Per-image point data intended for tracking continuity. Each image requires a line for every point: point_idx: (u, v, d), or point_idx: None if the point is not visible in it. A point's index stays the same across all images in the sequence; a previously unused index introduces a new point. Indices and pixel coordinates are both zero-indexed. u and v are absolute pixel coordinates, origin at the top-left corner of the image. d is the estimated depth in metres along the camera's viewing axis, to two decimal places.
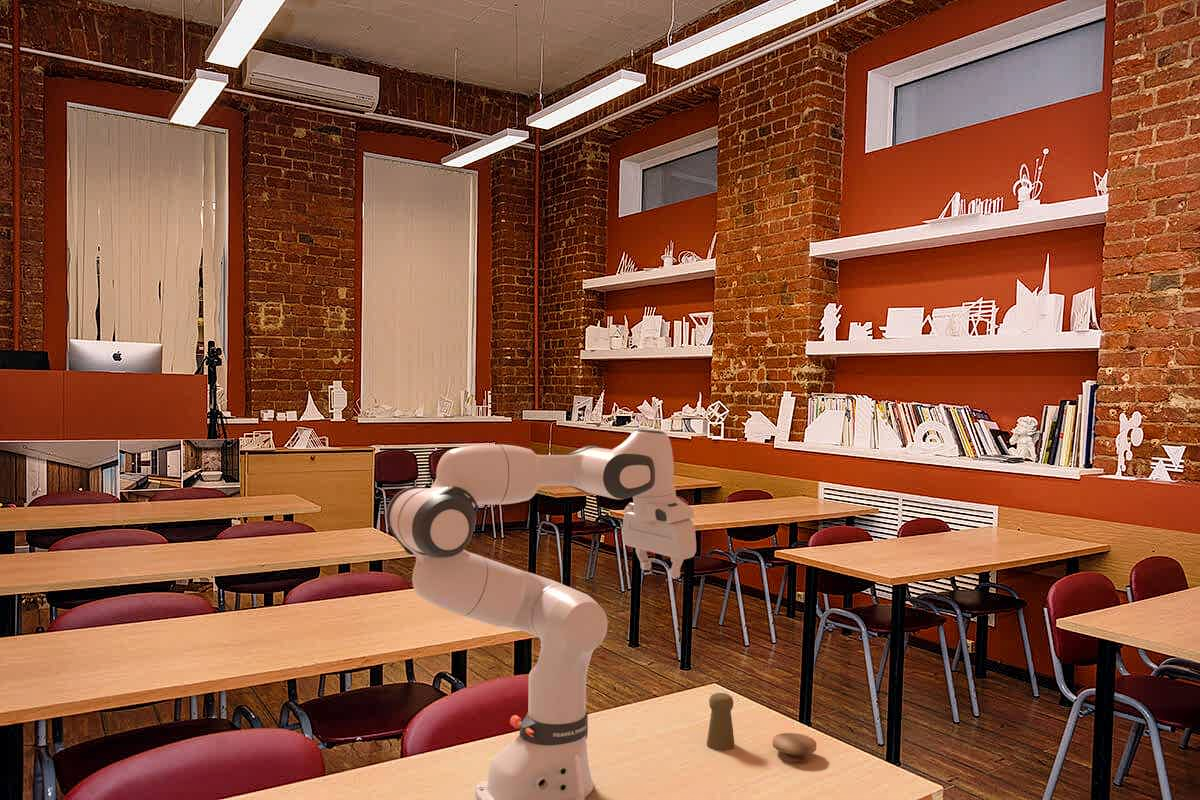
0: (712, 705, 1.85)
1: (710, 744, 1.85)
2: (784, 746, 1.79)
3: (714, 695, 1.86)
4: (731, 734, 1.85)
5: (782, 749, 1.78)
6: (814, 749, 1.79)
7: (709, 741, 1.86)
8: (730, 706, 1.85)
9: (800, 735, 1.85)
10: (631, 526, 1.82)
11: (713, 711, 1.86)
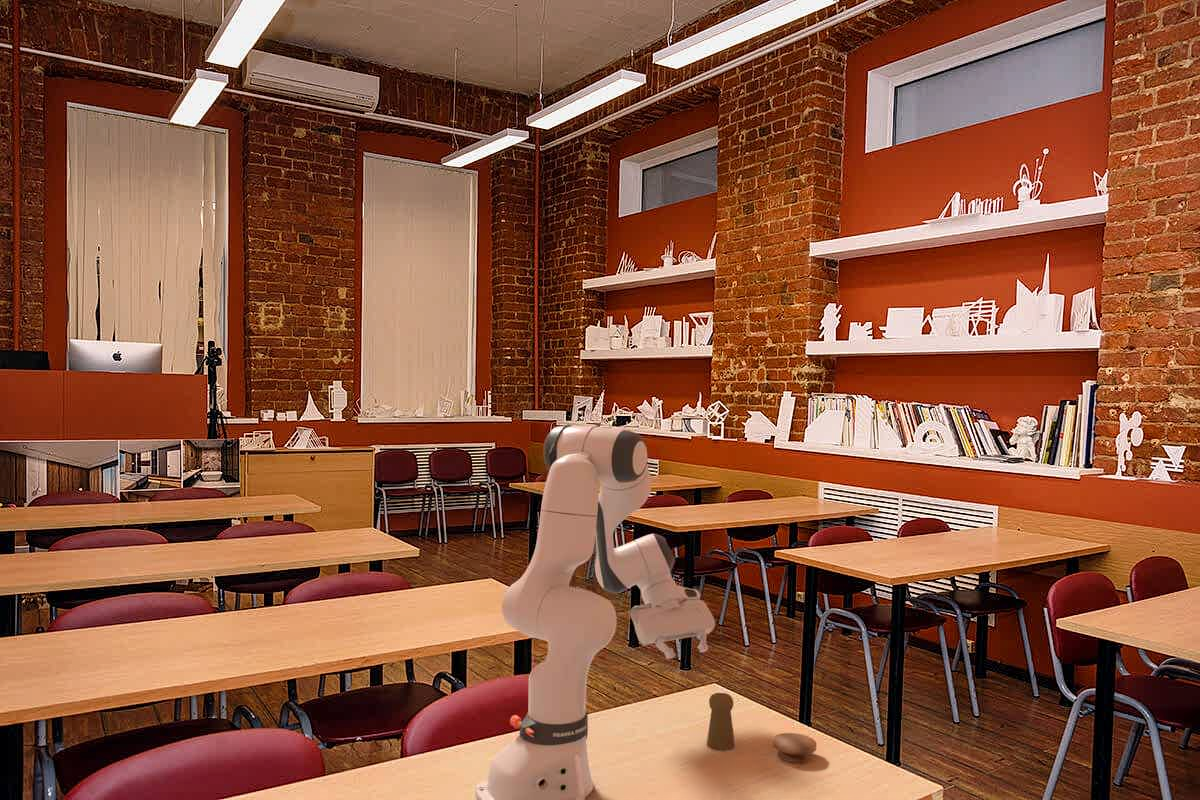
0: (712, 705, 1.85)
1: (710, 744, 1.85)
2: (784, 746, 1.79)
3: (714, 695, 1.86)
4: (731, 734, 1.85)
5: (782, 749, 1.78)
6: (814, 749, 1.79)
7: (709, 741, 1.86)
8: (730, 706, 1.85)
9: (800, 735, 1.85)
10: (651, 619, 1.98)
11: (713, 711, 1.86)
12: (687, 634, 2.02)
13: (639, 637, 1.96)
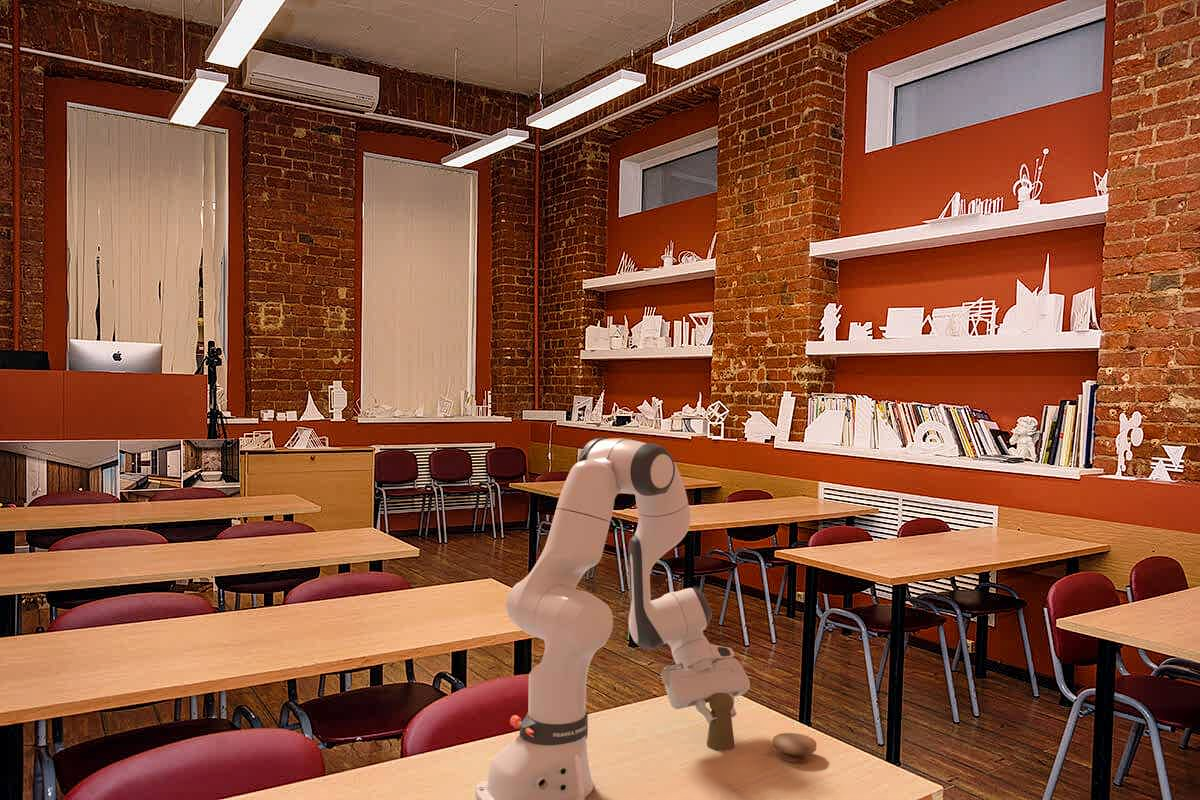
0: (712, 705, 1.85)
1: (710, 744, 1.85)
2: (784, 746, 1.79)
3: (714, 695, 1.86)
4: (731, 734, 1.85)
5: (782, 749, 1.78)
6: (814, 749, 1.79)
7: (708, 741, 1.86)
8: (730, 706, 1.85)
9: (800, 735, 1.85)
10: (683, 681, 1.87)
11: None
12: None
13: (671, 701, 1.85)
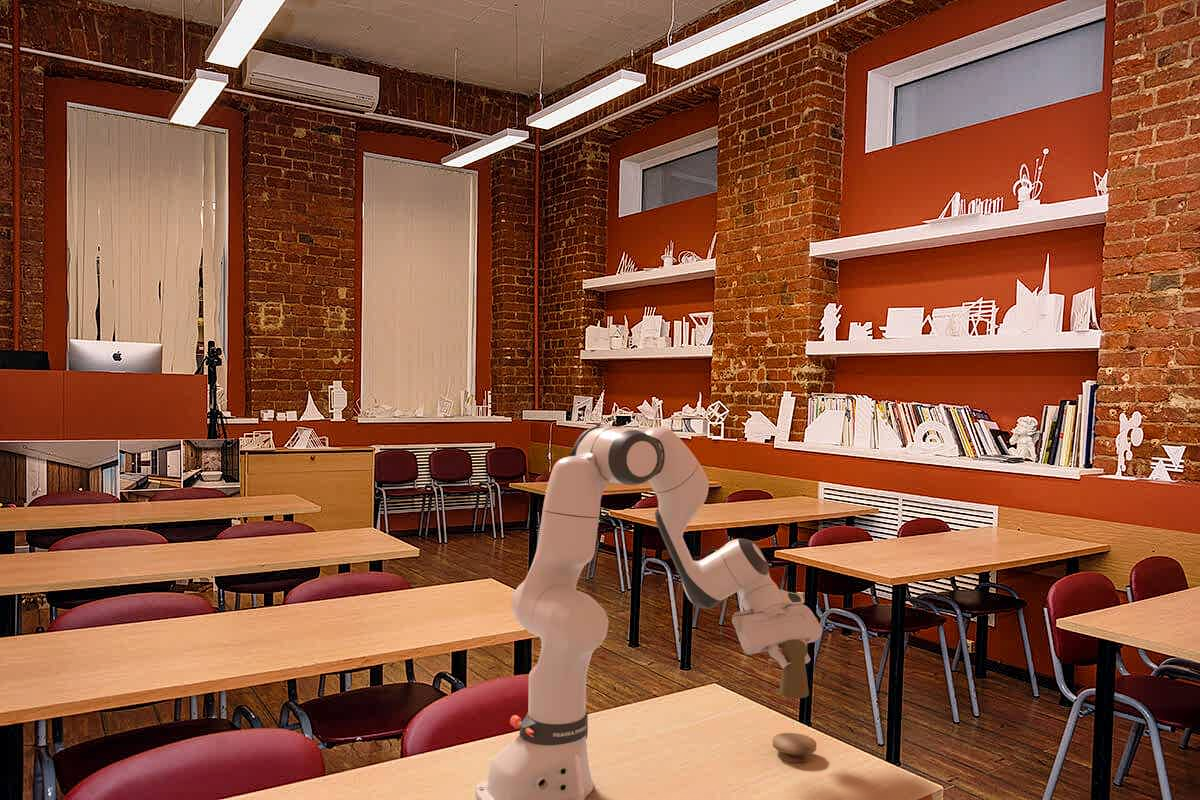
0: (786, 651, 1.80)
1: (784, 691, 1.80)
2: (784, 746, 1.79)
3: (787, 641, 1.81)
4: (805, 681, 1.80)
5: (782, 749, 1.78)
6: (814, 749, 1.79)
7: (782, 688, 1.80)
8: (804, 652, 1.79)
9: (800, 735, 1.85)
10: (755, 626, 1.82)
11: None
12: None
13: (744, 646, 1.80)
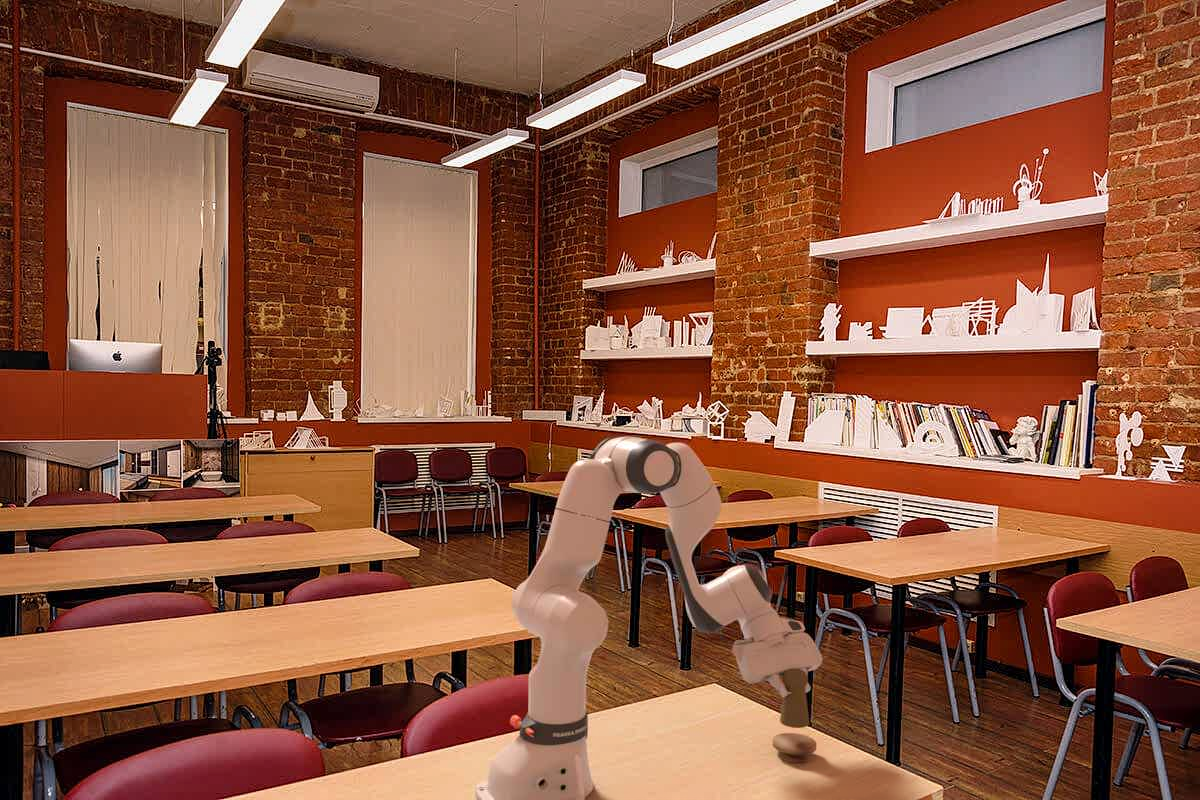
0: (786, 681, 1.80)
1: (784, 721, 1.80)
2: (784, 746, 1.79)
3: (788, 671, 1.81)
4: (806, 711, 1.80)
5: (782, 749, 1.78)
6: (814, 749, 1.79)
7: (782, 718, 1.80)
8: (805, 682, 1.79)
9: (800, 735, 1.85)
10: (756, 655, 1.82)
11: None
12: None
13: (744, 675, 1.80)
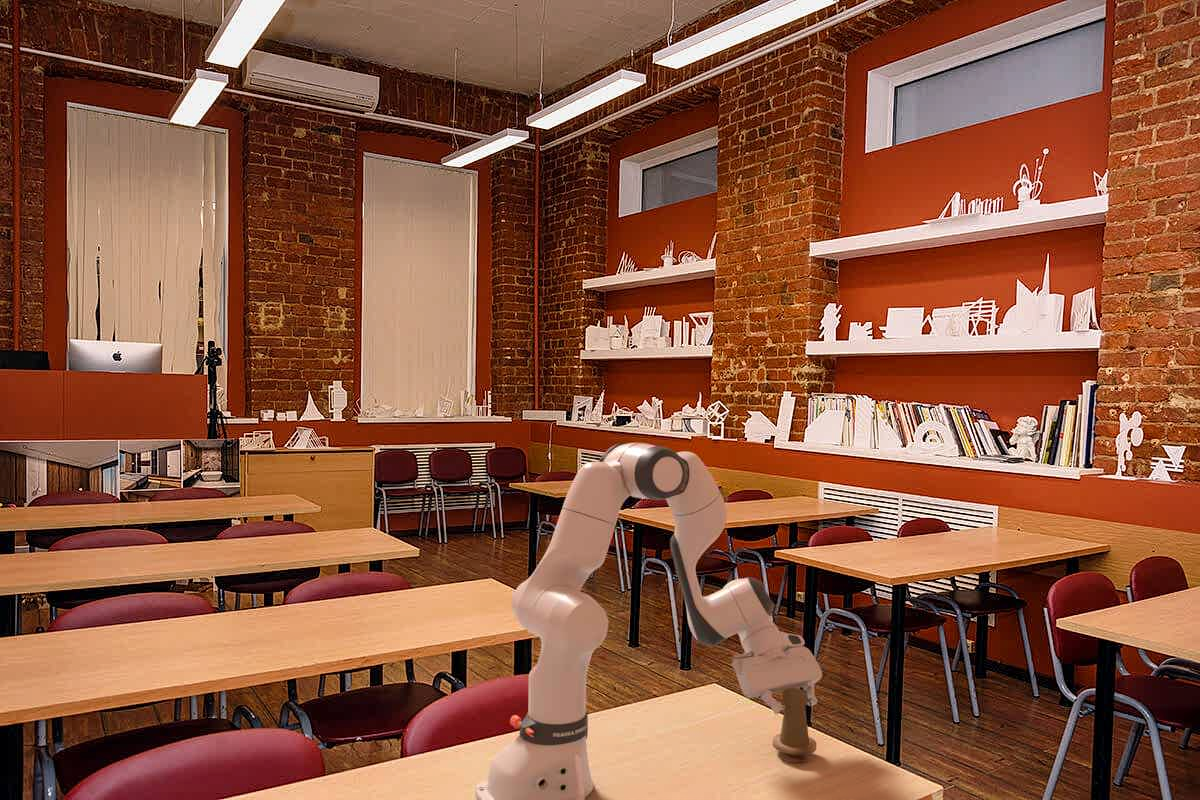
0: (786, 700, 1.79)
1: (784, 741, 1.80)
2: (784, 746, 1.79)
3: (788, 690, 1.81)
4: (806, 730, 1.79)
5: (782, 749, 1.78)
6: (814, 749, 1.79)
7: (782, 737, 1.80)
8: (805, 702, 1.79)
9: None
10: (755, 670, 1.82)
11: (787, 707, 1.80)
12: (793, 685, 1.86)
13: (744, 690, 1.80)
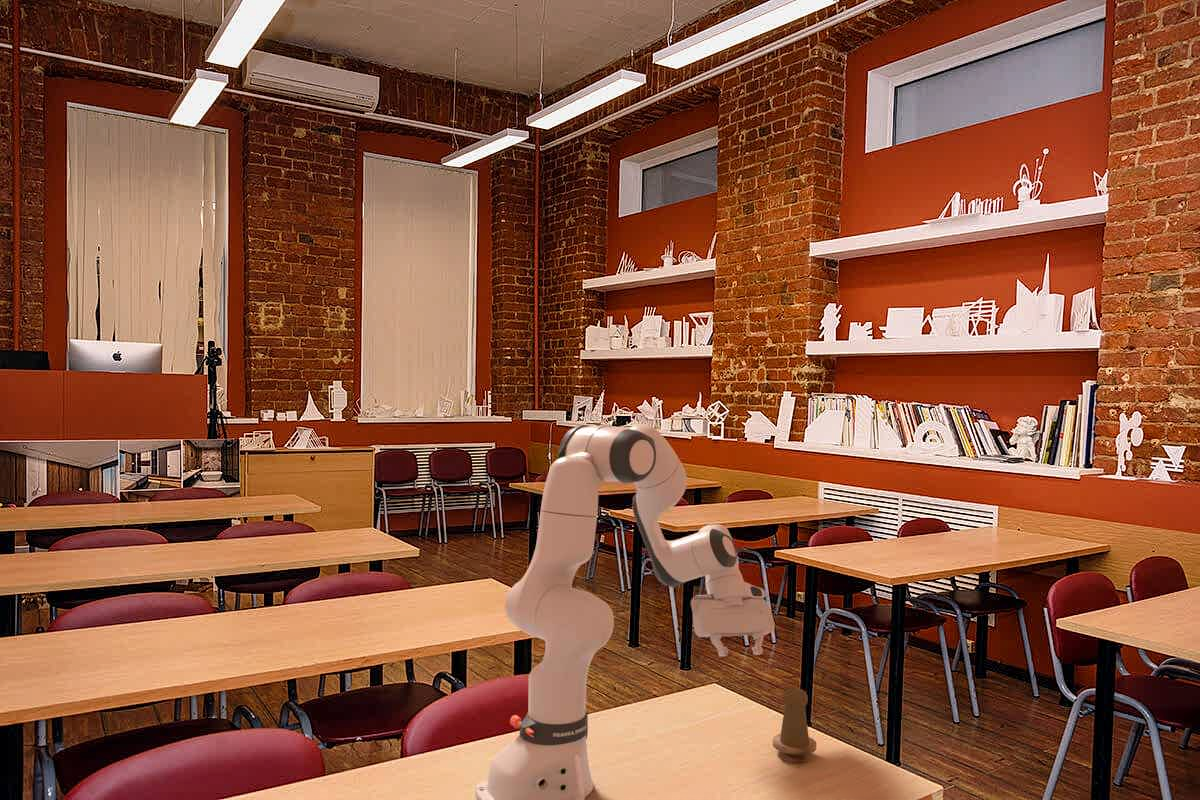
0: (786, 700, 1.80)
1: (784, 740, 1.80)
2: (784, 746, 1.79)
3: (788, 690, 1.81)
4: (806, 730, 1.79)
5: (782, 749, 1.78)
6: (814, 749, 1.79)
7: (782, 737, 1.80)
8: (805, 701, 1.79)
9: None
10: (711, 613, 1.92)
11: (787, 707, 1.80)
12: (744, 632, 1.97)
13: (695, 628, 1.91)
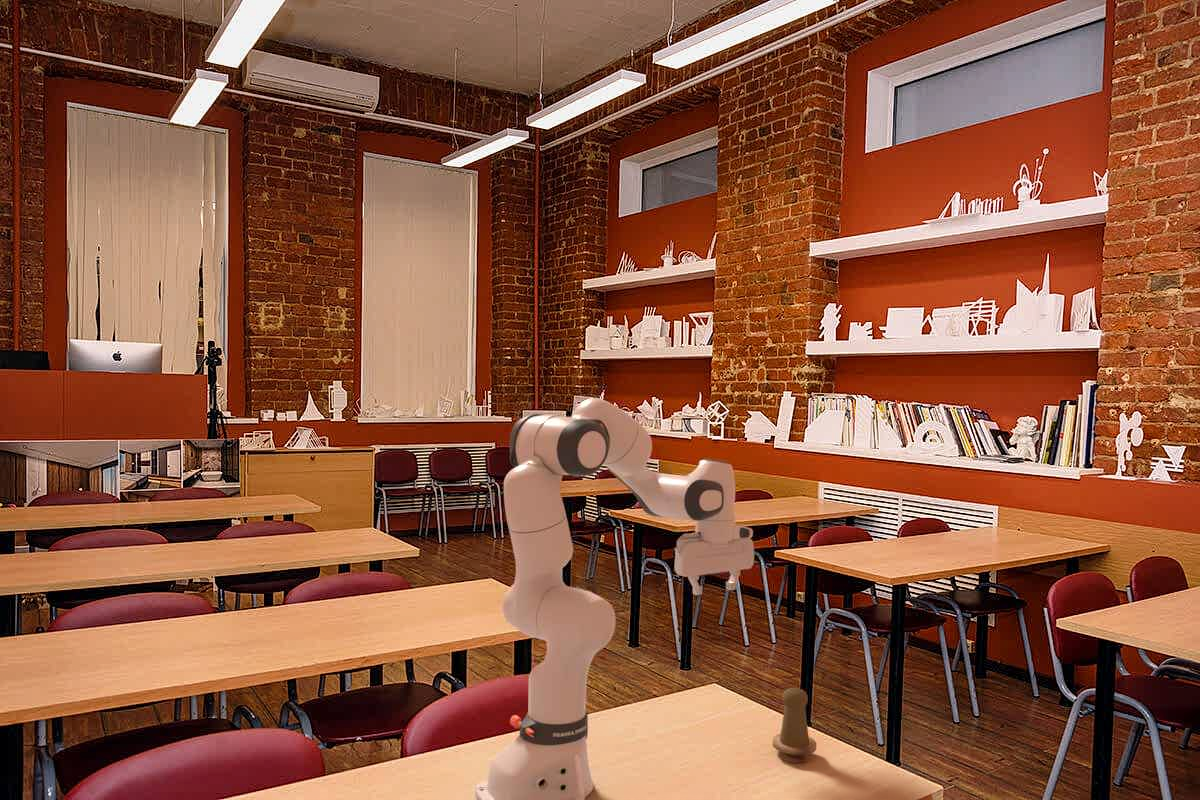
0: (786, 700, 1.80)
1: (784, 741, 1.80)
2: (784, 746, 1.79)
3: (788, 690, 1.81)
4: (806, 730, 1.79)
5: (782, 749, 1.78)
6: (814, 749, 1.79)
7: (782, 737, 1.80)
8: (805, 702, 1.79)
9: None
10: (695, 555, 1.90)
11: (787, 707, 1.80)
12: None
13: (676, 567, 1.91)
